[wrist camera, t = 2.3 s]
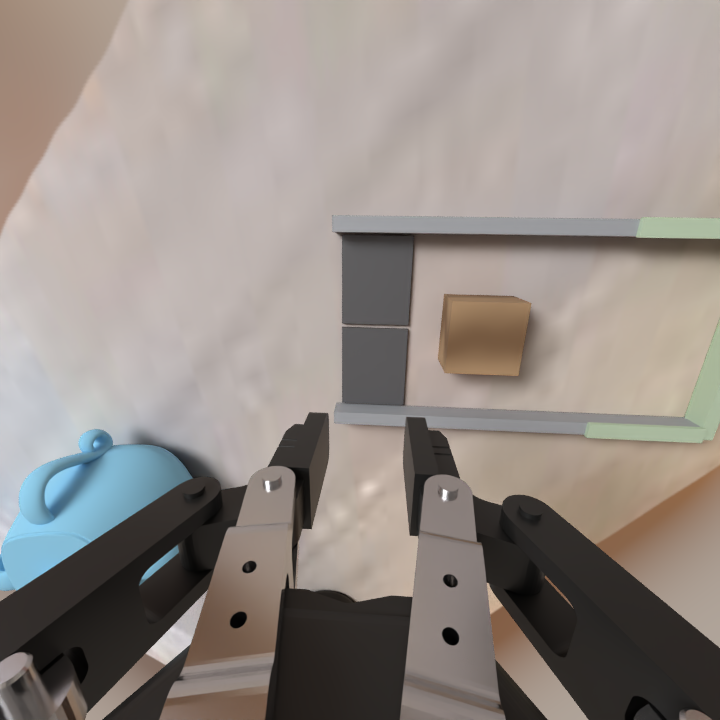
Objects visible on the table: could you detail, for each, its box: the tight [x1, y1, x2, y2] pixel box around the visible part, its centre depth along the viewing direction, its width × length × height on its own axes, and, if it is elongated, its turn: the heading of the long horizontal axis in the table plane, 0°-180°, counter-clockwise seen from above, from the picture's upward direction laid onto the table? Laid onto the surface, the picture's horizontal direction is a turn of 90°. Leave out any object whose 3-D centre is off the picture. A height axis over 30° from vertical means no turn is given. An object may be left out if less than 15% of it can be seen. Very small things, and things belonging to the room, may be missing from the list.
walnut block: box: [438, 294, 531, 376], centre depth 29 cm, size 6×6×4 cm
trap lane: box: [332, 215, 720, 443], centre depth 30 cm, size 19×34×2 cm, turn 89°
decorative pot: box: [0, 429, 193, 591], centre depth 33 cm, size 16×16×14 cm
